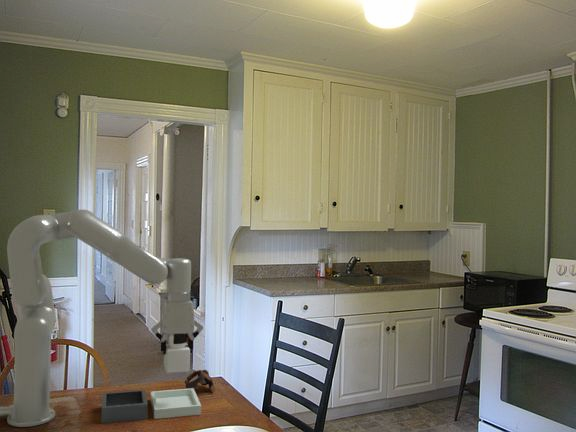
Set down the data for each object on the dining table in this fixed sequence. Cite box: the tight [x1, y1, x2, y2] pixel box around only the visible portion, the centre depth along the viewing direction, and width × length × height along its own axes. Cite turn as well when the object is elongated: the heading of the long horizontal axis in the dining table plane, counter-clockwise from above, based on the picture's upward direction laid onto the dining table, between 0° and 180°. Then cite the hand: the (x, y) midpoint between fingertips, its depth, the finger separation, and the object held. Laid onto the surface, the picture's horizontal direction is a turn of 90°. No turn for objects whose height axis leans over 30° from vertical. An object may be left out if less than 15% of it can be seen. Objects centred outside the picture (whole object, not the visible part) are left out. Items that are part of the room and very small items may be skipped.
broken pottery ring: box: [184, 369, 216, 394], centre depth 180 cm, size 12×10×8 cm
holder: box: [100, 389, 149, 424], centre depth 157 cm, size 13×13×4 cm
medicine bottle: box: [163, 334, 191, 374], centre depth 163 cm, size 7×7×12 cm
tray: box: [150, 388, 202, 420], centre depth 163 cm, size 14×16×3 cm
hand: (176, 352), depth 163 cm, fingers closed on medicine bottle, 7 cm apart
